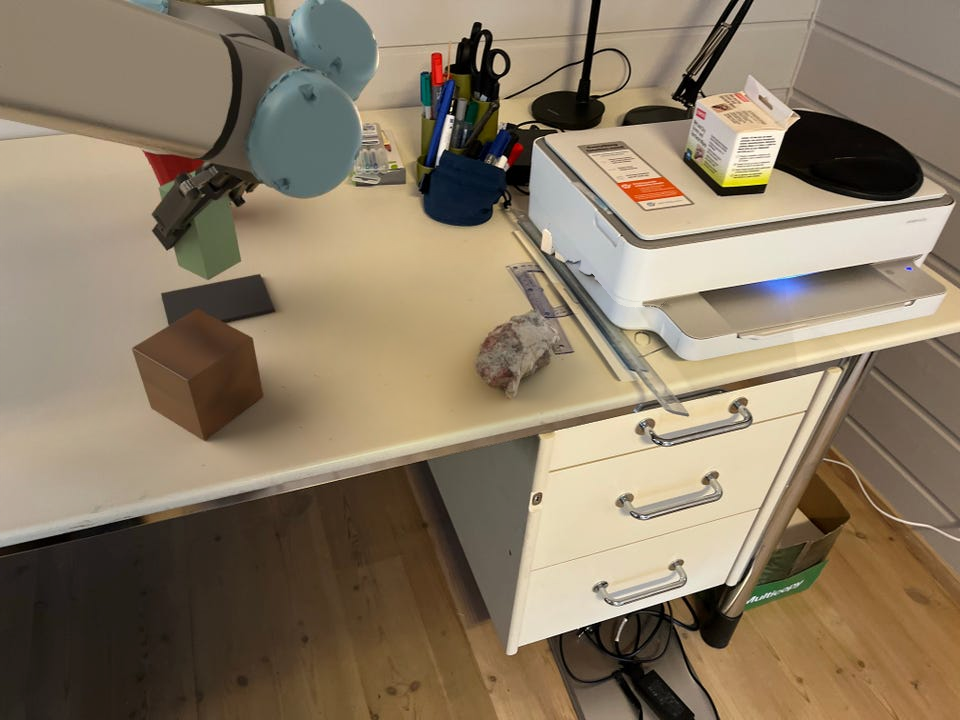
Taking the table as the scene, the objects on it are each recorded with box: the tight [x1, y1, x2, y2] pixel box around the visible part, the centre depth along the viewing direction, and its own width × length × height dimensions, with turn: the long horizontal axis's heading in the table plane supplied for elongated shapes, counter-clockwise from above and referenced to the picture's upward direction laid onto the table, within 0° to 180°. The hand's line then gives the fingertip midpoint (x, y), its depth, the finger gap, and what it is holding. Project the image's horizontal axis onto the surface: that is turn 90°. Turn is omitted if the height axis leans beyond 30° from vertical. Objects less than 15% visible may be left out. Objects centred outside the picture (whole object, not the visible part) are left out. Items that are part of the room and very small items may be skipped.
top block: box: [158, 171, 242, 281], centre depth 84 cm, size 5×5×10 cm
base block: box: [131, 309, 264, 442], centre depth 76 cm, size 8×8×8 cm
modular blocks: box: [540, 228, 567, 263], centre depth 100 cm, size 20×7×4 cm, turn 44°
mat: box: [160, 273, 276, 326], centre depth 91 cm, size 12×8×1 cm, turn 115°
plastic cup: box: [139, 148, 205, 187], centre depth 103 cm, size 11×11×12 cm
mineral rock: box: [474, 308, 561, 400], centre depth 84 cm, size 15×8×4 cm, turn 142°
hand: (182, 228), depth 87 cm, fingers closed on top block, 5 cm apart
